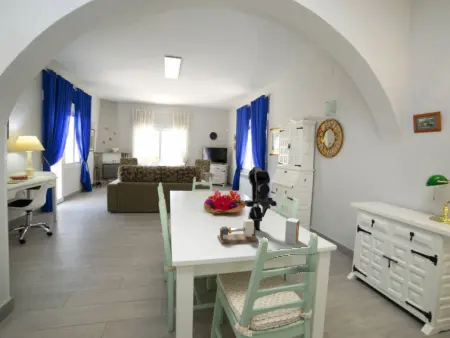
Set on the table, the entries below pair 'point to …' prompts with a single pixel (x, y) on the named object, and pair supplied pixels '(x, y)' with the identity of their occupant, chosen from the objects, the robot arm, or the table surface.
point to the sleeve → (248, 226)
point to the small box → (292, 231)
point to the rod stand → (236, 236)
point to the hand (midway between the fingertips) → (259, 217)
